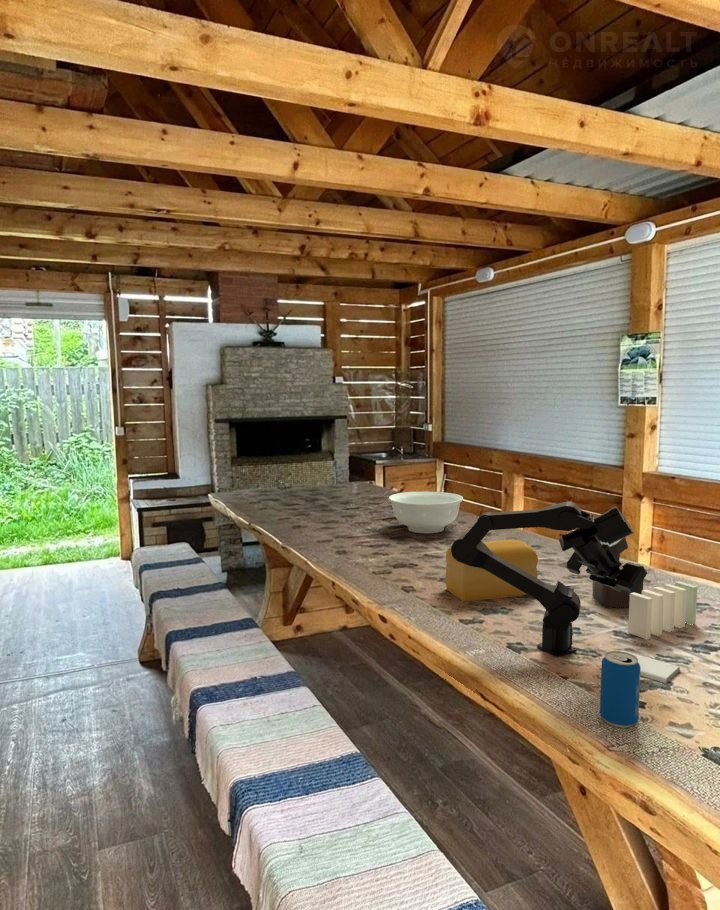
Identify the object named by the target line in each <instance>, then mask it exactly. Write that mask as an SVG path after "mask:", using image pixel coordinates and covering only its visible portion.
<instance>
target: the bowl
mask: <svg viewBox="0 0 720 910" xmlns="http://www.w3.org/2000/svg"><path fill="white" fill-rule="evenodd" d="M388 501H389V502H390V504H391V506H392V511H393V515H394V517H395V518H396V519H397V521H398V522H399V523H401V524H402V525H404V526H407V529H408V531H409V532H412V533H417V534H437V533H441V532H443V531H444V529H445V526H449V524H451V523H453V522H454V520H455V519H456V518H457V517H458V514H459V511H460V505H461V503H462V502H463V501H464V496H462V495H460V494H457V493H452V492H442V491H407V492H399V493H395V494H394V493H393V494H391V495H389V497H388Z"/></svg>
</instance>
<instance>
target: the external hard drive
mask: <svg viewBox="0 0 720 910" xmlns="http://www.w3.org/2000/svg"><path fill="white" fill-rule="evenodd" d="M620 651H622V652H627V653H630V654H632V655H634V656H636V657H637V658H638V663H639V664H640V677H643V678H644V677H645V678H648V679H650V680H651V679H652V680H653V681H657V682H661V683H664V684H667V683H668V682H669V681H671V680H672V679H673V678H674V677H675V676H676V675H677V674H678V673H679V672H680V671H681V667H680V666H678V665H676V664H675V665H674V664H671V663H667V662H664V661H661V660H657V659H654V658H650V657H647V656H643V655H641V654H636V653H633V652H628V651H626V650H622V649H621V650H620Z"/></svg>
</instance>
